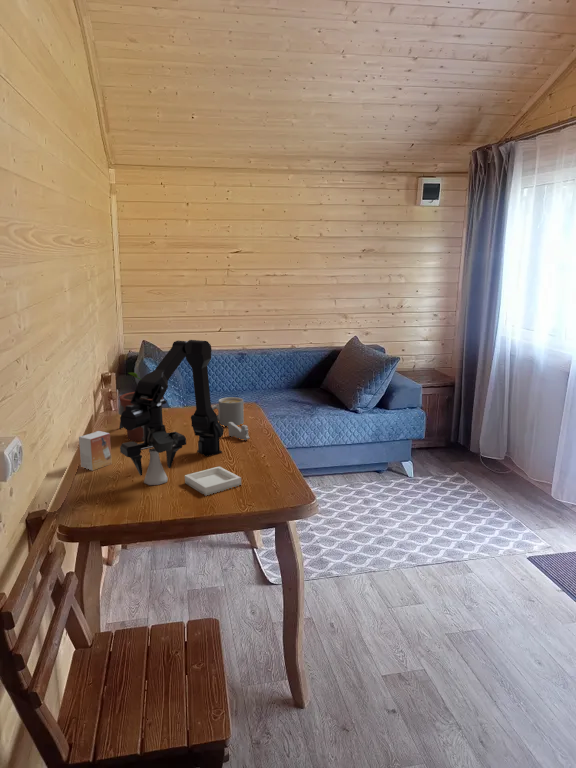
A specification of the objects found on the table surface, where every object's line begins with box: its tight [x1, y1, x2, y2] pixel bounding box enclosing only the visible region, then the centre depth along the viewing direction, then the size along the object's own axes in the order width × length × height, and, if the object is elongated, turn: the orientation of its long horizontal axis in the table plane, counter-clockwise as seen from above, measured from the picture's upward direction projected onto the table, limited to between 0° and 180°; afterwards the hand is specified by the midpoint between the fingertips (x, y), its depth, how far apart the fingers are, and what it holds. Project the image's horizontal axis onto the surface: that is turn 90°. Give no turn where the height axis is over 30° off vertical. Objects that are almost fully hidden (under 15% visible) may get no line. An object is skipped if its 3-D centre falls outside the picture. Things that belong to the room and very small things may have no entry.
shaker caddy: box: [184, 465, 242, 497], centre depth 165 cm, size 12×12×2 cm
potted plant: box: [117, 372, 164, 442], centre depth 211 cm, size 18×22×25 cm
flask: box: [143, 447, 169, 486], centre depth 167 cm, size 7×7×10 cm
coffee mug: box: [211, 396, 245, 426], centre depth 227 cm, size 13×10×10 cm
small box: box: [78, 430, 113, 471], centre depth 180 cm, size 8×6×10 cm
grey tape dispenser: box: [227, 422, 251, 441], centre depth 208 cm, size 6×1×10 cm
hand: (155, 471), depth 167 cm, fingers open, 9 cm apart
